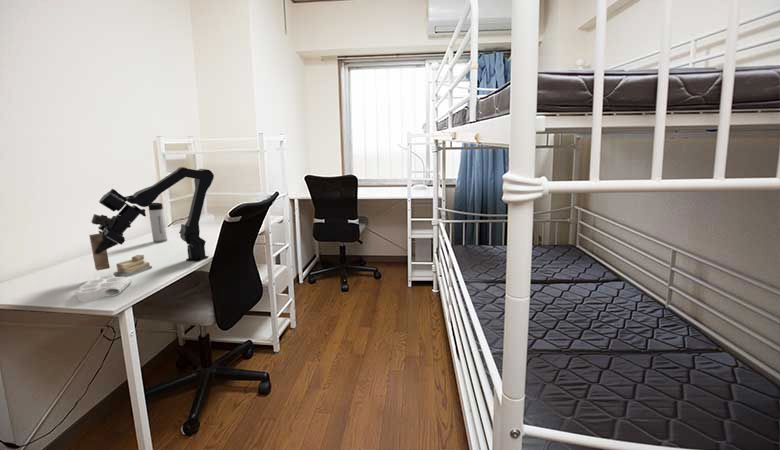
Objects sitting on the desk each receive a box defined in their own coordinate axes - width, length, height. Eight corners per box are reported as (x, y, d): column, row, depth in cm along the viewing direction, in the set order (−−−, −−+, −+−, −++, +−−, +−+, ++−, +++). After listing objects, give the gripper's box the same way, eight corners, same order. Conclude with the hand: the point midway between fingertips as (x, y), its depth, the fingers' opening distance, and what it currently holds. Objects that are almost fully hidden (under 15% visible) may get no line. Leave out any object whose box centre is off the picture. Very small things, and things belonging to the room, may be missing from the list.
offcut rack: (151, 268, 167) (149, 254, 166) (127, 276, 157) (124, 262, 155) (139, 266, 169) (136, 253, 168) (113, 275, 159) (111, 260, 158)
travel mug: (156, 240, 213) (150, 201, 209) (169, 239, 214) (164, 201, 210) (150, 243, 207) (144, 203, 203) (164, 242, 208) (158, 203, 204)
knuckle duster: (116, 299, 136) (65, 304, 132) (136, 281, 153) (91, 285, 150) (115, 290, 135) (63, 294, 132) (134, 272, 152) (89, 276, 149)
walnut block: (108, 265, 158) (102, 233, 156) (109, 268, 155) (103, 234, 153) (95, 268, 156) (89, 235, 153) (97, 270, 153) (90, 236, 150)
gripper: (100, 203, 160) (70, 235, 155) (108, 209, 146) (76, 244, 142) (127, 220, 167) (99, 251, 162) (137, 226, 153) (107, 261, 148)
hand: (95, 252), depth 153 cm, fingers closed on walnut block, 4 cm apart
